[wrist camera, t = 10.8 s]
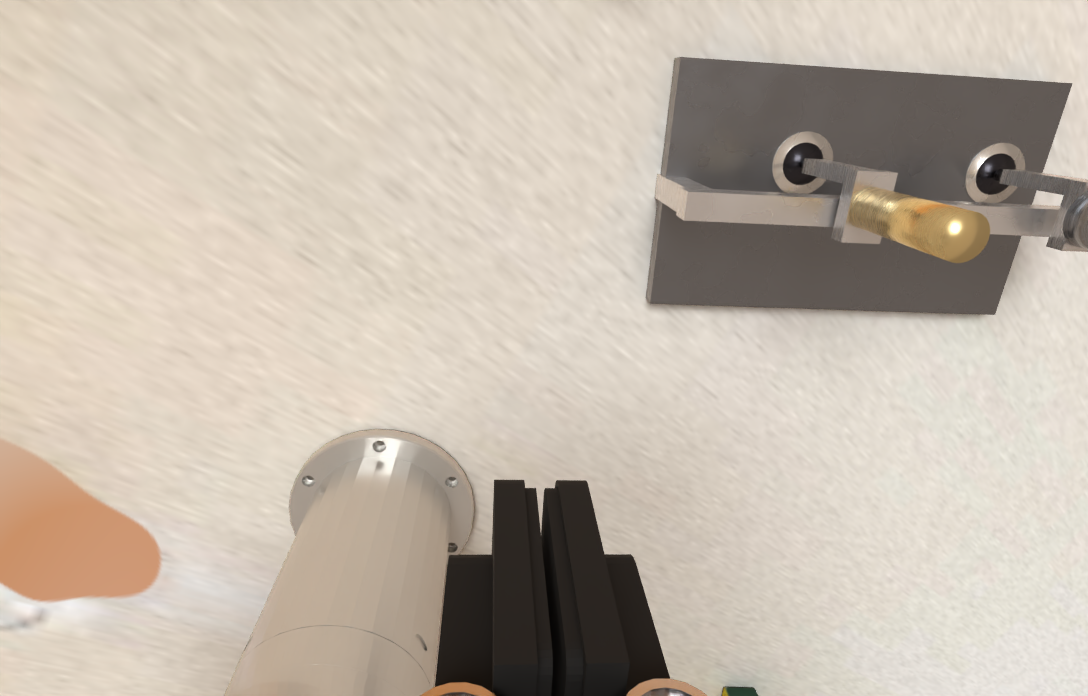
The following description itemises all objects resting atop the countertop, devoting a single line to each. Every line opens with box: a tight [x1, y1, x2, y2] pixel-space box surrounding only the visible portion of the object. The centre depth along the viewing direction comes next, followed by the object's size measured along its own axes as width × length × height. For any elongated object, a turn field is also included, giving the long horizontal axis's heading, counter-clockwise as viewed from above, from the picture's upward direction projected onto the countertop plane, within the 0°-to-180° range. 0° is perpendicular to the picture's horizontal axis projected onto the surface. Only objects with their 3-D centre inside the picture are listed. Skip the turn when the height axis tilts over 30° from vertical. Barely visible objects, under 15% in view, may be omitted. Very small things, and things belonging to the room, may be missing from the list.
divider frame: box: [655, 169, 1088, 252], centre depth 34 cm, size 3×23×10 cm, turn 87°
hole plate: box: [646, 57, 1072, 315], centre depth 38 cm, size 14×23×1 cm, turn 87°
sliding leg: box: [801, 158, 990, 263], centre depth 31 cm, size 3×2×14 cm, turn 177°
